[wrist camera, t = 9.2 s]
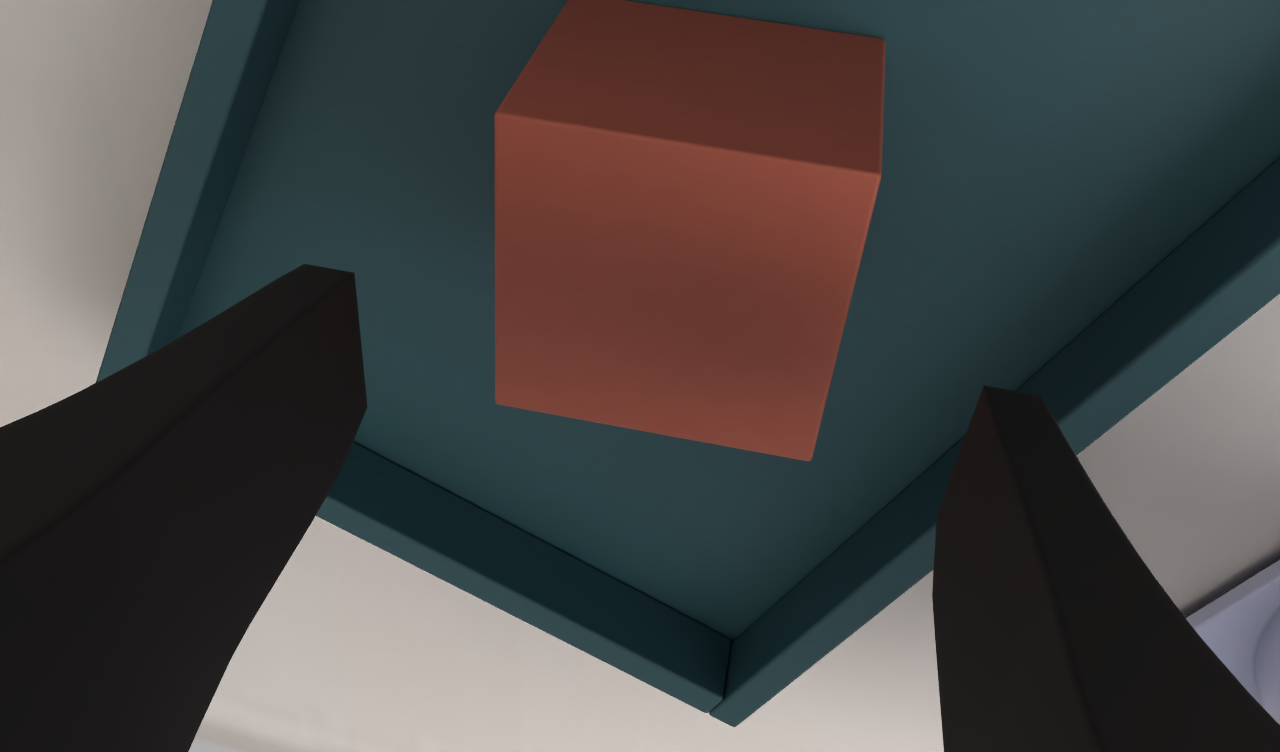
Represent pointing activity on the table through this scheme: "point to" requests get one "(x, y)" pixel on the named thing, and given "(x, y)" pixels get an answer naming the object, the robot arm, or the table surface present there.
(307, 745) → the table surface
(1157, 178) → the tray
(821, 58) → the top block
